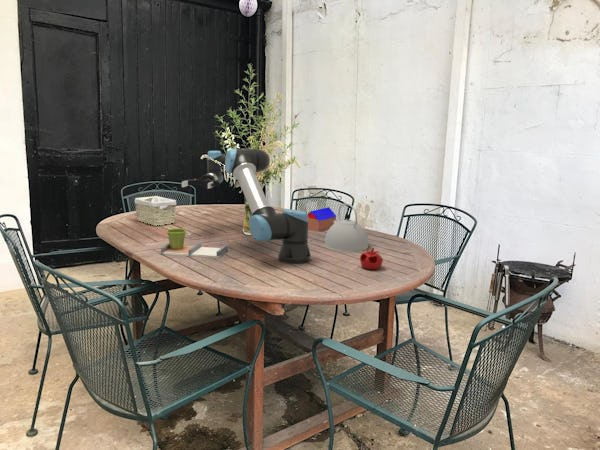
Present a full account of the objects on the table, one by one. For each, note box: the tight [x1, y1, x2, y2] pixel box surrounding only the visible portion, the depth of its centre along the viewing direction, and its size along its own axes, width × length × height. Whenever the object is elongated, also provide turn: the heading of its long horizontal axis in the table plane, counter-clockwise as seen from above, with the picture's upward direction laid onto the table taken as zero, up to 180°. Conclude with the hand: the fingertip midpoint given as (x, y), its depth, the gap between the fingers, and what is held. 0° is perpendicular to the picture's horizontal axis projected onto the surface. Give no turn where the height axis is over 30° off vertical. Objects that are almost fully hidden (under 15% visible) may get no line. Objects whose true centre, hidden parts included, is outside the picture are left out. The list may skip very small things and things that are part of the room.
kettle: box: [324, 202, 369, 253], centre depth 250 cm, size 25×23×22 cm
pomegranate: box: [359, 247, 384, 270], centre depth 214 cm, size 10×10×9 cm
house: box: [307, 206, 337, 232], centre depth 294 cm, size 12×20×12 cm, turn 144°
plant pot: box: [166, 228, 187, 250], centre depth 232 cm, size 9×9×9 cm
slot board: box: [160, 242, 229, 259], centre depth 231 cm, size 28×14×3 cm, turn 82°
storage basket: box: [134, 195, 177, 227], centre depth 295 cm, size 24×16×15 cm
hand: (195, 185), depth 243 cm, fingers open, 13 cm apart
